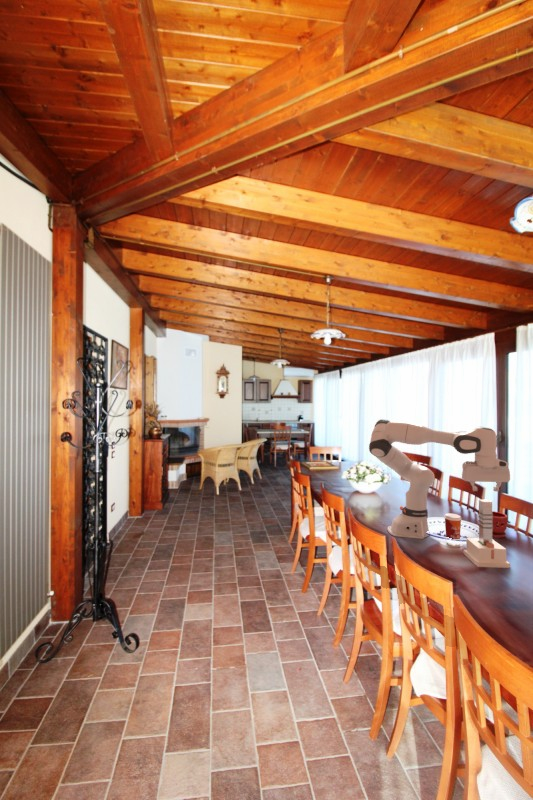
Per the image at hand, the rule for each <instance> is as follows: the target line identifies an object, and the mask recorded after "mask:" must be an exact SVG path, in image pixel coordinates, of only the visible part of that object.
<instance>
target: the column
mask: <svg viewBox="0 0 533 800" xmlns="http://www.w3.org/2000/svg"><path fill="white" fill-rule="evenodd" d="M492 511H493V501H491V500H489V499H479V500H478V539H479V540H478V542H479V543H480V544H481V545H482V546H486V542H489V543H492V539H493V537H492V529H493V527H492V525H493V523H492V520H493V518H492V516H493V514H492Z"/></svg>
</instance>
